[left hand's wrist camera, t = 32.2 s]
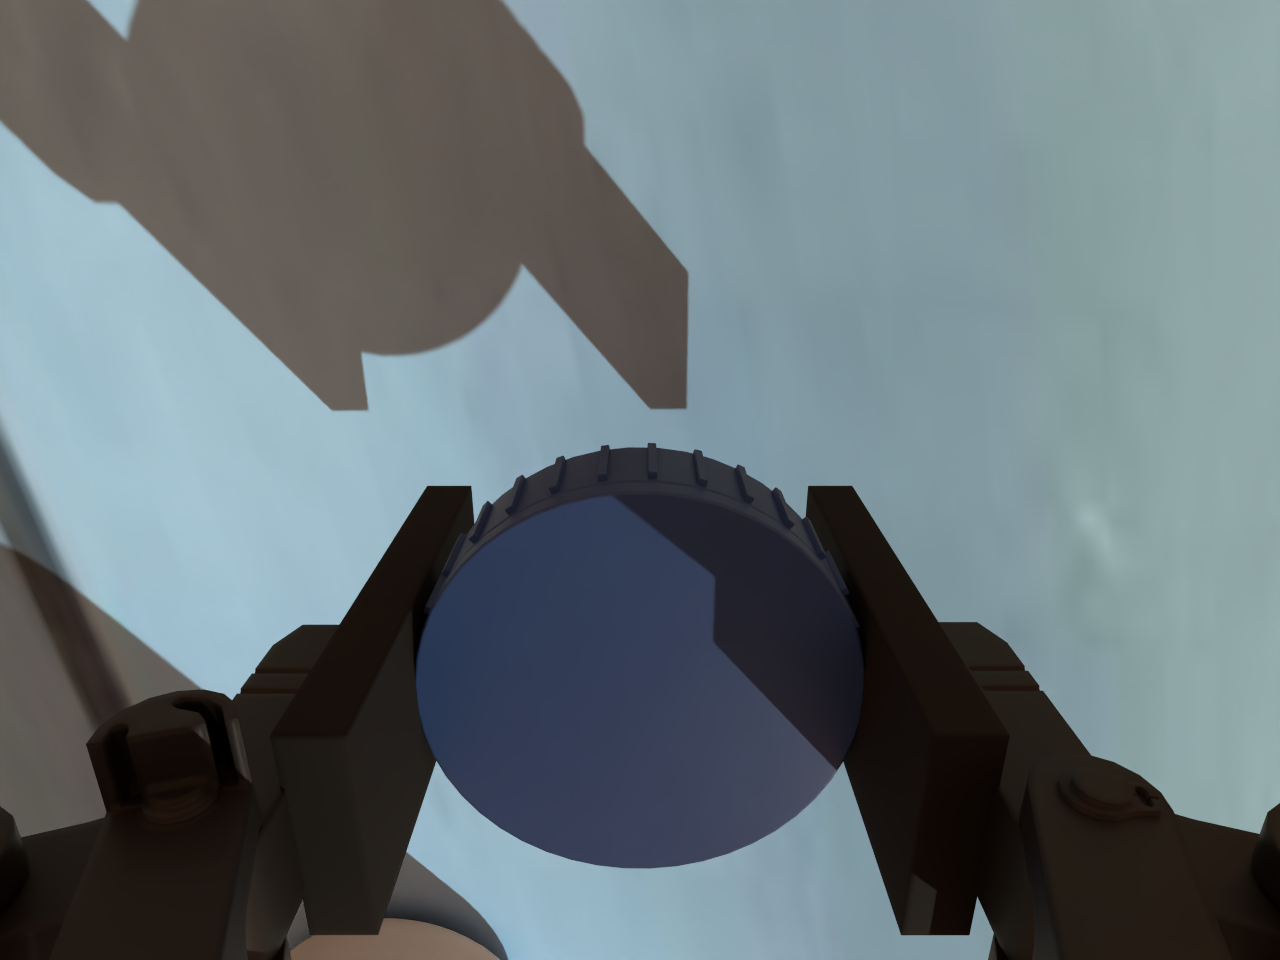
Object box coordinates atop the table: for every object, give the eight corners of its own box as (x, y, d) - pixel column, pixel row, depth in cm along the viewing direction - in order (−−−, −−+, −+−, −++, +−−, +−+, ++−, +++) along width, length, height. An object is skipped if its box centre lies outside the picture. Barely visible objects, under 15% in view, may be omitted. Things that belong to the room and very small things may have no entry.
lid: (587, 846, 14) (580, 931, 12) (351, 579, 12) (310, 640, 10) (912, 682, 13) (949, 755, 11) (707, 356, 11) (719, 390, 9)
